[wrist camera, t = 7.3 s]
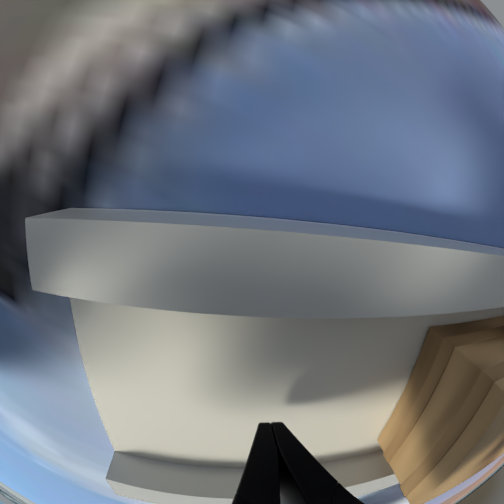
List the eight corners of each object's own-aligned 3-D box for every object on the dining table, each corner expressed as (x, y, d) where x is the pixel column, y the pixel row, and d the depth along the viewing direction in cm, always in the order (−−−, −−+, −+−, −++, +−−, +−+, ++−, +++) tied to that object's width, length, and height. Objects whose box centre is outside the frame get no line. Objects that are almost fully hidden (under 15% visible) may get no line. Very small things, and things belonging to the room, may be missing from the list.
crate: (376, 440, 11) (410, 509, 6) (429, 325, 9) (509, 394, 4) (470, 407, 11) (506, 450, 7) (514, 312, 10) (569, 348, 5)
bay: (125, 462, 11) (110, 514, 7) (70, 208, 8) (-13, 227, 4) (463, 427, 13) (486, 456, 9) (536, 255, 10) (579, 272, 6)
